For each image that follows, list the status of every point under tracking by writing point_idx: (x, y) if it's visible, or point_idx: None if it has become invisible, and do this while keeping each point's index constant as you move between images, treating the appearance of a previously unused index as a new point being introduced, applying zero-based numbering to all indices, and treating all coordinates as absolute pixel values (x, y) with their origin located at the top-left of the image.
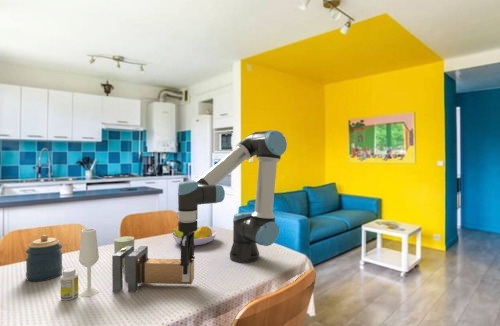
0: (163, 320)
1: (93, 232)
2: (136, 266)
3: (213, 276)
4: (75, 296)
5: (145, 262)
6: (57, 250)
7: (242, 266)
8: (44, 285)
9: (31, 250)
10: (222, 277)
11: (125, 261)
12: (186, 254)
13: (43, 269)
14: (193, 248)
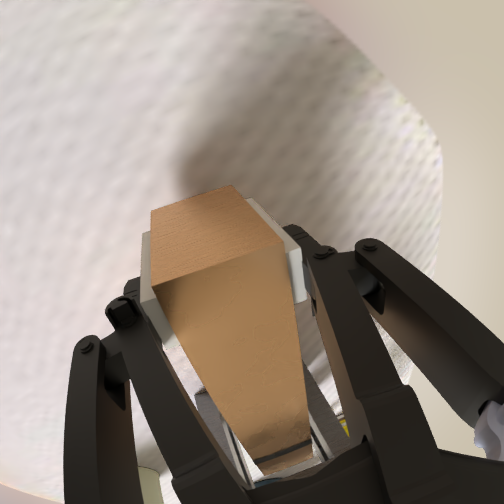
0: (439, 167)
1: None
2: (334, 431)
3: (18, 149)
4: (342, 416)
5: (303, 441)
6: None
7: None
8: (294, 467)
9: None
10: (13, 89)
11: (250, 476)
12: (449, 301)
13: None
14: (90, 401)
